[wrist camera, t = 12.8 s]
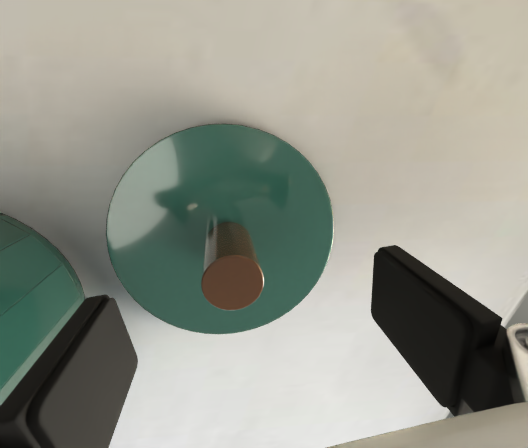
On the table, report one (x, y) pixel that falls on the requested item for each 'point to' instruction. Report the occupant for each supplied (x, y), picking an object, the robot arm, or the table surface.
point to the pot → (31, 299)
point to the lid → (220, 228)
